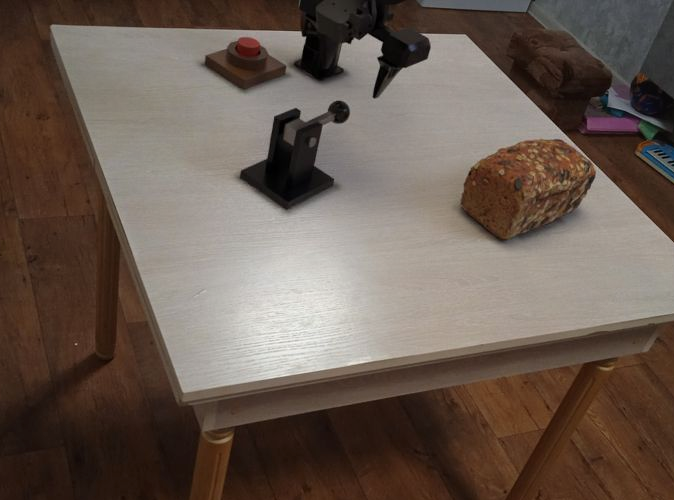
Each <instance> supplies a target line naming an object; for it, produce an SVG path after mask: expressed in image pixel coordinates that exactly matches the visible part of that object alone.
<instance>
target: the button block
mask: <svg viewBox="0 0 674 500" xmlns="http://www.w3.org/2000/svg"><path fill="white" fill-rule="evenodd" d="M237 43H238V40H235V41H232V42H231V41H230V42H229V44H228V45H227V48H225V49H221V50H219V51H215V52H210V53H208V54H206V55H205V57H204V66H206V67H207V68H209V69H210V70H212V71H214V72H215V73H216V74H218V75H220V76H221V77H223V78H225V79H226V80H228V81H229V82H231V83H232V84H234V85H235V86H237V87H238V88H240V89H241V90H246V89H247V90H248V89H249V88H252V87H256V86H257V85H261V84H263V83H267V82H268V81H273V80H275V79H277V78H280V77H283V76H286V73H287V72H286V71H287V64H285V63H283V62H282V61H280V60H279V59H277V58H275V57H273V56H272V55H270V54H269V52H268V50H267V48H266V47H264V46H262V45H261V44H260V48H259V54H258V56H255V57H254V56H245V55H242V54H240V53H238V52H237Z"/></svg>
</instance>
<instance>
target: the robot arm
mask: <svg viewBox="0 0 674 500" xmlns="http://www.w3.org/2000/svg"><path fill="white" fill-rule="evenodd" d="M405 1H406V0H299V1H298V10H300V11H301V16H300V22H299V23H300V24H299V27H300V32H301V33H300V34H301V37H302V38H305V39H304V40H305V41H304V44H303V48H302V51H301V58H300V59H297V60H294V61H293V66H295V67H297V68H299V69H300V70H302V71H304V72H305V73H307V74H308V75H310V76H311V77H313V78H315V79H317V80H318V81H325V80H327V79H330V78H333V77H336V76H338V75H340V74H343V73H344V71H345V69H344V68H343V67H341V66H340V65H339V60H340V54H341V51H342V46H343V44H348V45H352V42H353V41H354V40H355V39H356V40H357V41H361V40H362V39H363V38H364V37H366V36H367V35H369V36H371V37H373V38H374V39H376V40H377V41H380V42H381V43H382V44H381V48H380V51H381V54H382V55H380V56H377V57H376V59H377V62H378V64H379V67H378V71H377V75H376V79H375V83H374V86H373V91H372V98H373V99H374V100H376V99H378V98H379V97H381V95H382V94H383V92H384V91H385V90H386V89H387V88H388V87H389V85H390V84H391V83H392V82H393V80H394V79H395V77H397V75H398V74H399V73H400V72H401V71H402V70H403V69H407V68H409V67H412V66H414V65H417V64H419V63H421V62H424V61H427V60H428V59H429V55H430V52H431V48H432V46H431V41H430V38H429V37H427V36H426V35H424V34H422V33H420V32H418V31H416V30H415V29H414V28H411V27H409V26H408V27H404V28H401V29H399V30H396V31H395V30H394V29H392V28H390V27H388V26H387V23H389V22H391V21H393V20H394V16H395V12H393V11H391V6H396V5H399V4H402V3H404V2H405Z"/></svg>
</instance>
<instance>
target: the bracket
mask: <svg viewBox="0 0 674 500" xmlns="http://www.w3.org/2000/svg"><path fill="white" fill-rule="evenodd" d="M301 114H302V110H300V109H299V108H297V107H294V108H291V109H289V110H286V111H284V112H281V113H279V114H276V115H274V116H273V121H272V128H271V133H270V139H269V145H268V150H267V158H266V159H263V160H261V161H259V162H256V163H254V164H252V165H250V166H248V167H245V168H243V169H241V170H240V174H239V178H240V179H242V180H243V181H245V182H246V183H248V184H249V185H250V186H252V187H254V188H255V189H256V190H258V191H259V192H260V193H262V194H264V195H265V196H266V197H268V198H269V199H271V200H272V201H274V202H275V203H276V204H277V205H279V206H280V207H282V208H284V209H285V210H289V209H291V208H293V207H295V206H296V205H298V204H300V203H302V202H305V201H306V200H309V199H311V198H312V197H314V196H316V195H318V194H320V193H322V192H324V191H326V190H327V189H331V188H332V187H334V184H335V178H334V177H332V176H331V175H329V174H327V173H326V172H324V171H323V170H322V169H320V168H318V167H317V166H315V164H316V160H317V155H318V150H319V146H320V140H321V135H322V131H323V127H324V125H322V124H321V123H319V122H315V123H313V124H311V125H308V126H306V127H304V128H301V129H299V130H297V131H296V135H295V140H294V146H292V145H291V144H289V143H288V142H286V141H285V140H283V134H284V127H285V124H286V123H289V122H291V121H293V120H295V119H297V118H300V119H301Z"/></svg>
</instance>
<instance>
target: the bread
mask: <svg viewBox="0 0 674 500" xmlns="http://www.w3.org/2000/svg"><path fill="white" fill-rule="evenodd" d="M596 175H597V171H596V168H595V165H594V164H593V163H592V162H591V160H589V159H588V158H586V157H585V156H584V155H583V154H582V153H581V152H580V151H579V150H578V149H576V148H575V147H574V146H572V145H571V144H569V143H568V142H565V140H563V139H560V138H554V139H546V138H545V139H543V138H539V139H531V140H524V141H520V142H519V141H518V142H517V143H516V144H514V145H510V146H506V147H501V148H498V150H497V151H496V152H494V153H492V154H491V155H490V154H489V155H487V156H486V157H484V158H481V159H480V160H478V161H477V162H476V163H475V164H474V165H473V166H471V167H470V169H469V171H468V174H467V176H466V177H465V180H464V183H463V192H462V193H461V198H460V205H461V206H462V208H463V210H464V211H465V212H466V213H467V214H468V216H471V218H473V219H474V220H475V221H476V222H478V223H479V224H481V225H482V226H483V228H485V229H486V230H487V231H489V232H490V233H491V234H493V235H494V236H495V237H497V238H499V239H501V240H502V239H509V240H511V239H513V237H515V236H516V235H521V234H525V233H528V232H530V231H532V230H534V229H537V228H540V227H542V226H545V225H547V224H551V223H552V222H554V221H555V220H558V219H560V218H561V217H564V216H566V215H567V214H569V213H572V212H574V211H575V210H576V209H578V208H579V206H580V205H581V203H582V201H583V199H585V198H586V196H587V195H588V191H589V190H591V188H592V185H593V183H594V181H595V179H596Z"/></svg>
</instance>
